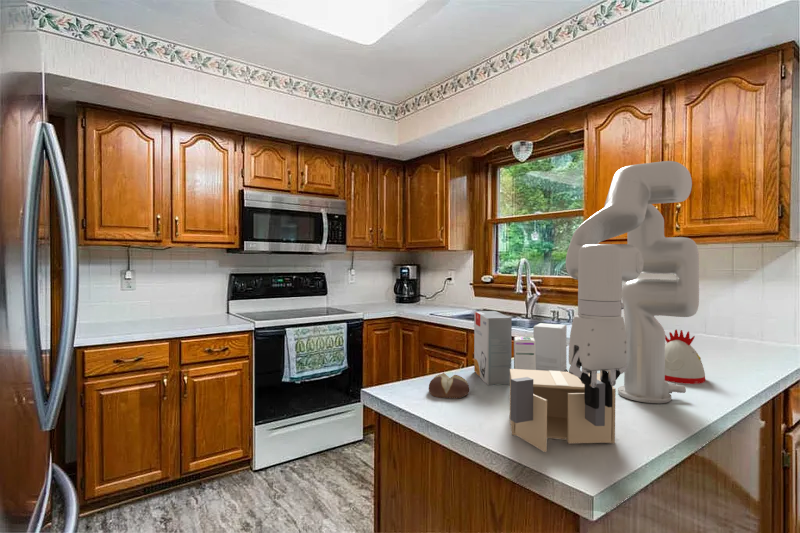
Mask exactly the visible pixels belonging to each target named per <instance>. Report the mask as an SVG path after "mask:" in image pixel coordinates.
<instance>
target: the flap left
mask: <svg viewBox="0 0 800 533" xmlns="http://www.w3.org/2000/svg"><path fill="white" fill-rule="evenodd" d="M510 420H512V421H513V422H515V435H514V436H516V435H517V437H518V438H520V439H522V440H524V441H525V442H527V443H528V444H530V445H532V446H534V447H535V448H537V449H538V450H540V451H542V452H544V453H547V451H548V450H547V448H548V447H547V445H548V442H547V440H548V438H547V400H546V399H544V398H541V397H539V396H537V395H534V394H533V379H531V378H529V377H524V378H516V379H511V415H510V414H509V421H510Z"/></svg>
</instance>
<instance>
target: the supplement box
mask: <svg viewBox="0 0 800 533" xmlns="http://www.w3.org/2000/svg"><path fill="white" fill-rule="evenodd" d="M567 327H568V326H567V324H560V323H559V324H557V323H544V322H543V323H542V322H540V323H538V324H534V326H533V327H532V328H533V338H534V340H535V354H536V370H543V371H549V370H551V371H562V372H566V370H567V369H568V368H567V362H568V361H567V359H568V358H567V355H568V354H567V333H568V332H567Z"/></svg>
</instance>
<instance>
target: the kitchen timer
mask: <svg viewBox="0 0 800 533" xmlns="http://www.w3.org/2000/svg"><path fill="white" fill-rule="evenodd" d="M668 334H669V337H670V338H668V337H667V335H666V334H665V381H666V382H670V383H671V382H672V383H675V384H676V383H677V384H687V385H699V384H703V383H705V382H706V373H705V372H706V371H705V368H704V364H703V362H702V360H701V359H702V358H701V357H700V355H699V353H698V352H697V350H695V348H694V347H693V346H692V343H693V341H694V340H695V335H694V336H692V337H691V336H690V335H691V334H690V331H689V330H688V331H687V332H686V335H685V336H684V332H683V330H682V329H681V330H680V332H678V329H675V330H674V334H673V333H672V332H671V331H670V332H669V333H668ZM690 337H691V338H690Z"/></svg>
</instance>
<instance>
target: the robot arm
mask: <svg viewBox="0 0 800 533" xmlns="http://www.w3.org/2000/svg"><path fill="white" fill-rule="evenodd" d="M691 176H692V174H691V173H690V171H689V169H688V168H687V167H686V166H684V164H682V163H680V162H677V161H675V160H673V161H672V160H663V161H656V162H646V163H637V164H631V165H626V166H624V167H621V168H620V169H618V170H617V171H616V172H615V173H614V175H613V176H612V179H611V183H610V187H609V190H608V192H607V193H608V194H607V196H606V199H605V202H604V204H603V205H604V207H603V208H602V209H600V210H599V211H596V212H595V213H594V214H592V215H591V216H590V217H589V218H587V219H586V220H584V221H583V222H582V223H581V224H580V225H578V227H577V228H576V229H575V231H574V232H573V234H572V236H571V239H570V242H569V245H568V248H567V251H566V256H565V269H566V272H567V274H568V276H570V277H571V278H572V279H574V280H577V282H578V283H577V284H578V285H577V287H578V288H577V315H574V317H573V318H572V319H573V320H572V324H571V327H570V333H569V342H568V364H569V365H570V366H569V369H568V372H569V373H570V374H572V375H574V376H577V377H578V378H579V379H580V380H581V382H582V383H583V384H585V394H584V399H585V404H586V405H588V406H590V407H592V408H594V409H598V408H599V388H598V387H596V385H597V373H598V372H599V371H600V372H599V373H600V380H601V382H603V383H605V406H607V407H612V386H613V387H615V385H616V384H617V380H618V379H619V377H620V376H621V375H622V374H624V375H623V378H624V379H623V381H624V382H623V385H622V386H619V387H618V388H617V394H619V396H620V397H622V398H626V399H628V400H631V401H635V402H639V403H646V404H667V403H669V402H671V401H672V398H673V397H672V393H678V394H681V393H682V394H685V393H686V391H687V390H686V389H687V388H686V386H685V385H682V384H676V383H673V382H672V383H671V382H670V383H669V381H666V380H665V344H666V340H665V335H666V332H665V329H664V327H663V325H662V324H661V322H660V321H658V320H657V319H656V317H657V316H660V317H662V316H664V317H674V318H675V317H676V318H677V317H678V318H690V317H693V316H694V315H696V314H697V312H698V311H699V310H698V309H699V304H700V256H699V248H698V245H697V243H696V241H695V240H693V239H692V238H689V237H683V236H679V237H678V236H676V237H675V236H674V237H671V236H669V237H666V236H665V219H664V217H663V215H662V213H661V212H660V211H659V210H658V208H656V206H654V205H655V204H656V205H657V204H670V203H681V202H684V201H686V200H687V199H688V198H689V196H690V195H691V192H692V186H693V181H692V177H691ZM624 234H627V243H612V244H611V243H601V242H604V241H606V240H609V239H613V238H615V237H620V236H621V235H624ZM640 274H645V275H646V274H647V275H674V276H675V277H676V278H677V279H668V278H667V279H662V278H661V279H660V278H638V277H639V276H640ZM623 282H625V283H624V284H623ZM622 310H623V314H624V317H623V316H622ZM655 316H656V317H655ZM589 373H590V377H589Z"/></svg>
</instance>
